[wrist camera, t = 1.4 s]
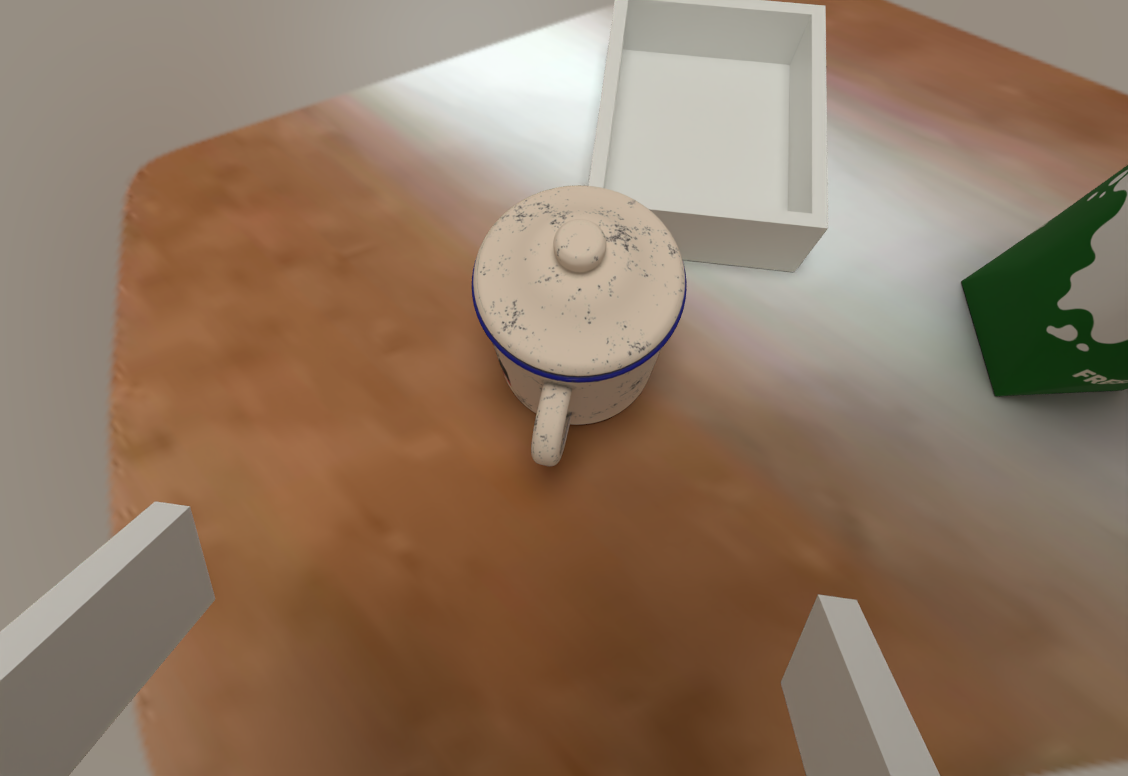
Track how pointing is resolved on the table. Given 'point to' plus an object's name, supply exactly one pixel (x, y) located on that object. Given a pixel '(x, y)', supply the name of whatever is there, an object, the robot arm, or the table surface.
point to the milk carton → (1059, 301)
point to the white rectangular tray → (719, 125)
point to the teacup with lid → (577, 304)
